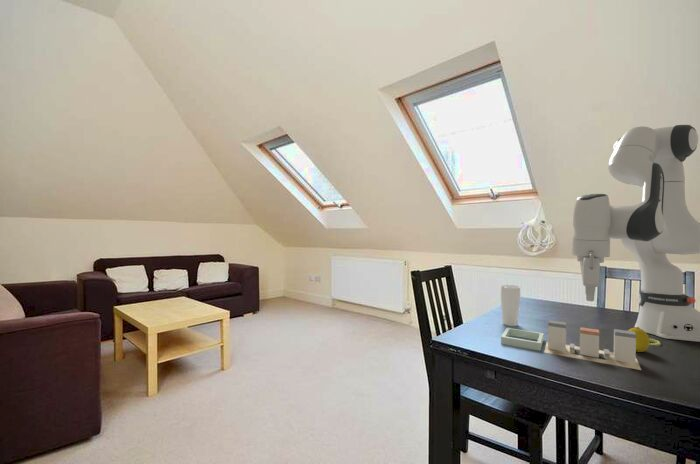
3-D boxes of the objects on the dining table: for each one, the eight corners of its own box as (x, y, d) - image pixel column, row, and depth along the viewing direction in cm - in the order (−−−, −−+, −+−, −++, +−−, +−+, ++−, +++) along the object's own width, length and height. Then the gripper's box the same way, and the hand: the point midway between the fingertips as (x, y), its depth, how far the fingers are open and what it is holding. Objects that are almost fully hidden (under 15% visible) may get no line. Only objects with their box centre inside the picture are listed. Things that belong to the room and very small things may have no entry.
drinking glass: (522, 329, 125) (522, 288, 125) (502, 328, 126) (503, 287, 126) (517, 323, 132) (517, 285, 131) (498, 322, 133) (498, 284, 133)
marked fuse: (598, 357, 99) (598, 329, 99) (598, 360, 97) (599, 332, 96) (579, 353, 102) (580, 327, 101) (579, 357, 99) (580, 329, 99)
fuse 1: (565, 348, 103) (566, 322, 103) (565, 351, 101) (565, 325, 101) (548, 345, 106) (548, 320, 106) (548, 348, 103) (548, 322, 103)
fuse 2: (633, 360, 95) (634, 331, 94) (635, 364, 92) (636, 334, 92) (613, 356, 97) (613, 328, 97) (614, 360, 95) (615, 331, 94)
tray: (543, 342, 111) (543, 333, 111) (540, 353, 102) (540, 343, 102) (506, 336, 117) (506, 327, 117) (500, 345, 108) (501, 336, 108)
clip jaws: (608, 358, 98) (608, 349, 98) (609, 362, 95) (609, 354, 95) (569, 351, 103) (570, 343, 103) (569, 355, 100) (569, 347, 100)
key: (640, 335, 119) (640, 329, 119) (663, 347, 107) (664, 341, 107) (616, 333, 121) (616, 327, 121) (637, 346, 109) (637, 339, 109)
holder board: (635, 358, 97) (635, 356, 97) (641, 373, 88) (641, 370, 88) (546, 343, 110) (546, 341, 110) (544, 355, 101) (544, 352, 101)
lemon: (640, 358, 98) (640, 330, 98) (620, 351, 103) (620, 324, 103) (654, 355, 100) (654, 328, 99) (633, 349, 105) (634, 323, 105)
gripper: (606, 253, 88) (605, 306, 88) (602, 248, 105) (600, 293, 105) (577, 251, 91) (576, 303, 92) (577, 247, 108) (576, 290, 109)
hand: (589, 297), depth 98 cm, fingers open, 8 cm apart
